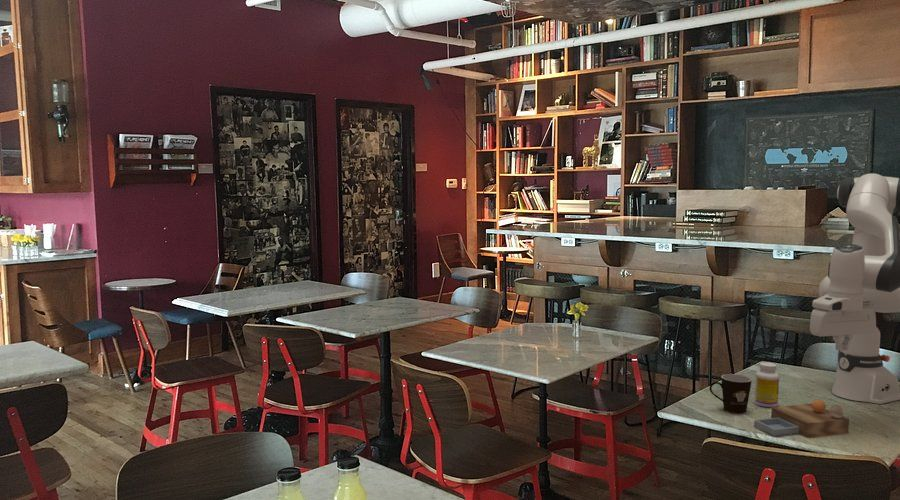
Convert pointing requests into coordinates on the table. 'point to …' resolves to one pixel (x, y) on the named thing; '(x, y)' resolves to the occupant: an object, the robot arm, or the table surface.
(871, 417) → the table surface
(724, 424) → the table surface
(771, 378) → the supplement bottle
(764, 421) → the dish
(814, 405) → the ball
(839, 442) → the table surface
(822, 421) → the wooden cutting board
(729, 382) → the coffee mug
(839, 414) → the cream ball
